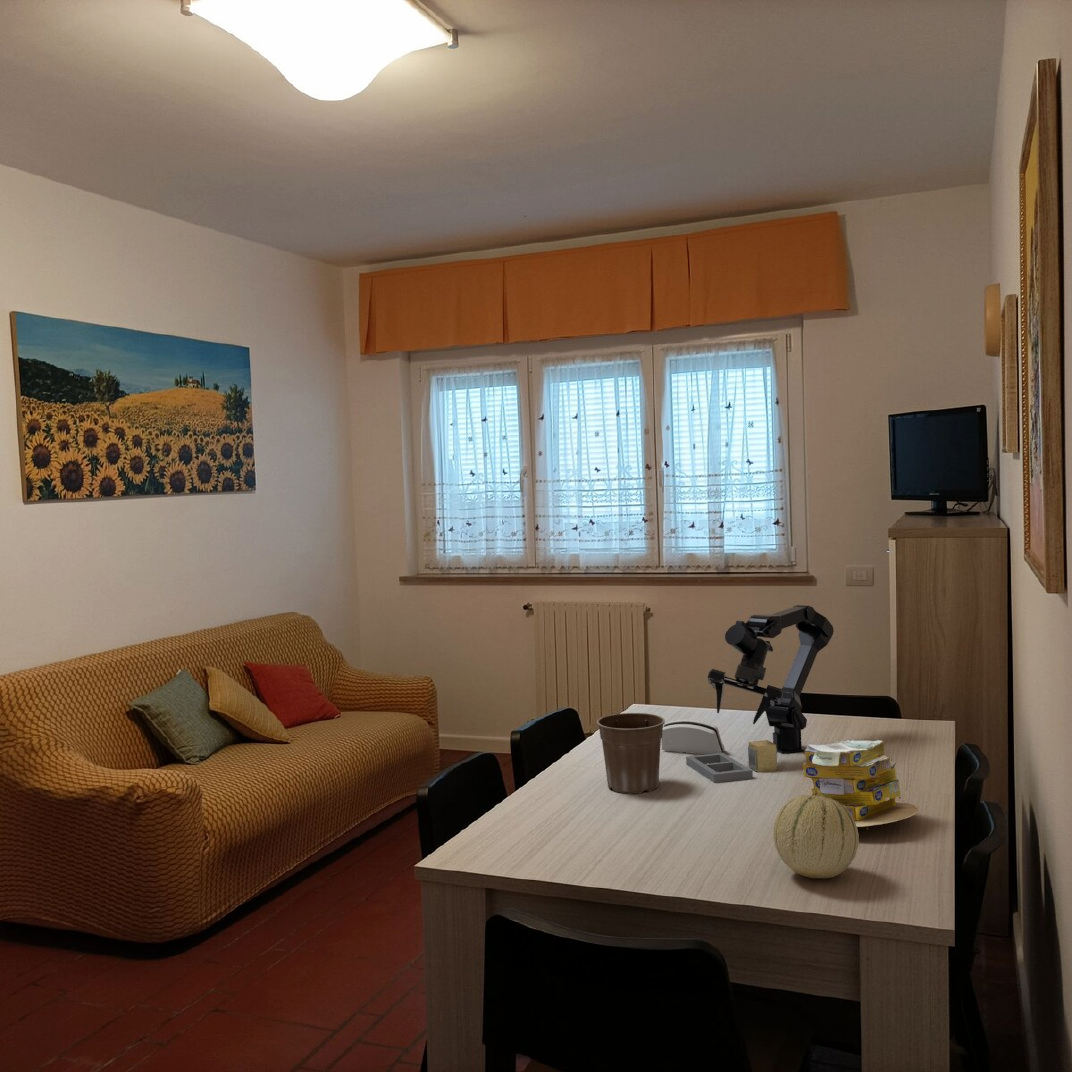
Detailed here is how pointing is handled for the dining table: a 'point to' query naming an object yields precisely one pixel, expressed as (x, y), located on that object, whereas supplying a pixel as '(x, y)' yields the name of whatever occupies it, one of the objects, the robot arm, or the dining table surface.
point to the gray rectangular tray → (719, 767)
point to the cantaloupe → (816, 836)
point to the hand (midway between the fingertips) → (735, 718)
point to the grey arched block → (691, 737)
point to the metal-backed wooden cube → (762, 756)
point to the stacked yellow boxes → (858, 780)
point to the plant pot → (631, 750)
